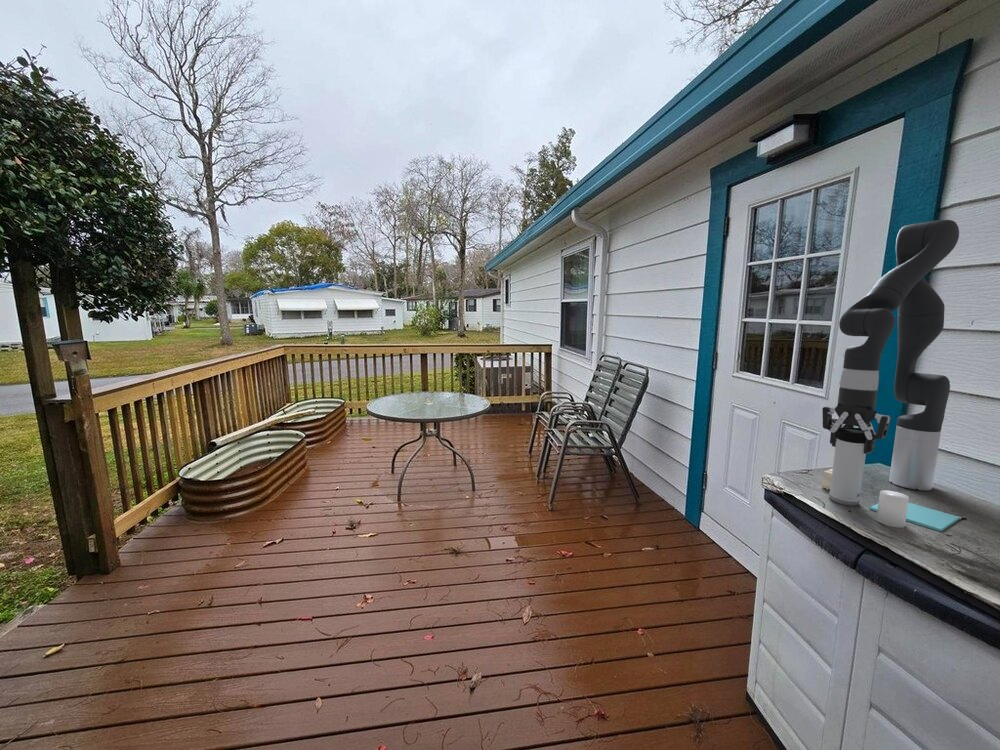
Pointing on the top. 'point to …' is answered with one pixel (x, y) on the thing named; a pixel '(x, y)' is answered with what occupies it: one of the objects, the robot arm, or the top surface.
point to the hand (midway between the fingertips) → (850, 449)
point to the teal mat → (927, 517)
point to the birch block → (827, 479)
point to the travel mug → (848, 466)
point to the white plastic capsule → (892, 508)
